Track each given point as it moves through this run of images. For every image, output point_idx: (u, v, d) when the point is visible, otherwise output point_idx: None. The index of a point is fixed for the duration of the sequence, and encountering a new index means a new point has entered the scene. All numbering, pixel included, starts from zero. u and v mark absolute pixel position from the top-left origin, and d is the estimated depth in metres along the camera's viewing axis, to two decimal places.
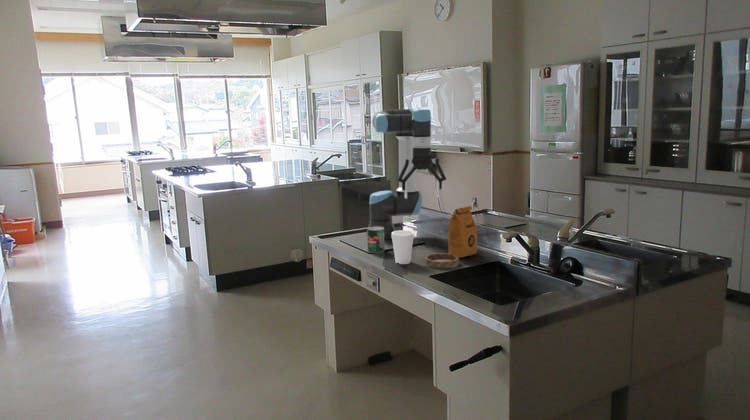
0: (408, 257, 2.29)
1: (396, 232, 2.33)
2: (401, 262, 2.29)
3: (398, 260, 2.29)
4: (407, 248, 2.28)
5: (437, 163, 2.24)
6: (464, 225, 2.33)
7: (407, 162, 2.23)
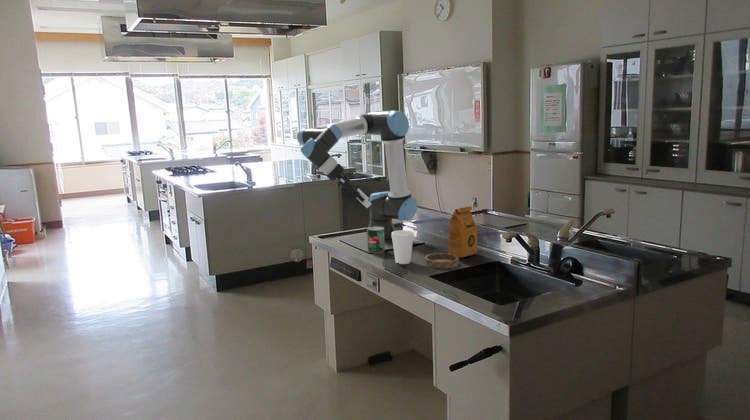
0: (408, 257, 2.29)
1: (396, 232, 2.33)
2: (401, 262, 2.29)
3: (398, 260, 2.29)
4: (407, 248, 2.28)
5: (342, 184, 2.21)
6: (464, 225, 2.33)
7: None
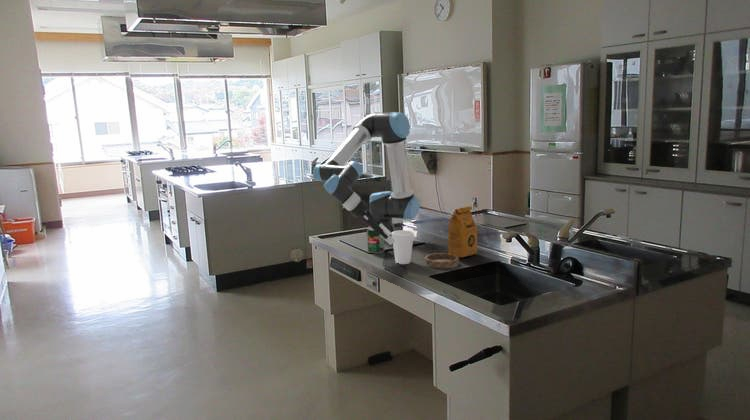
0: (408, 257, 2.29)
1: (396, 232, 2.33)
2: (401, 262, 2.29)
3: (398, 260, 2.29)
4: (407, 248, 2.28)
5: (365, 221, 2.20)
6: (464, 225, 2.33)
7: None
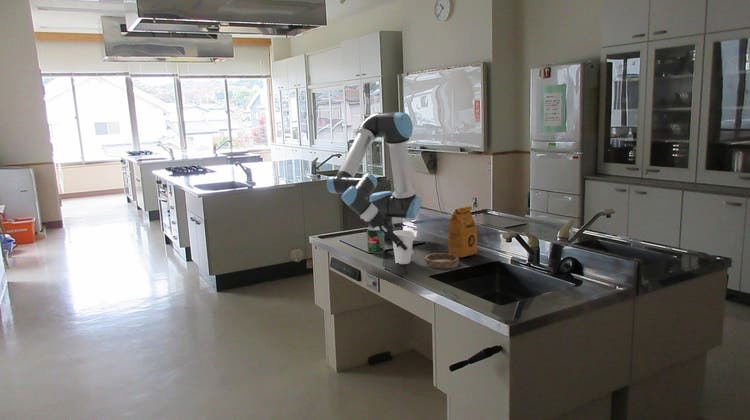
0: (408, 257, 2.29)
1: (396, 232, 2.33)
2: (401, 262, 2.29)
3: (398, 260, 2.29)
4: None
5: (384, 233, 2.23)
6: (464, 225, 2.33)
7: None
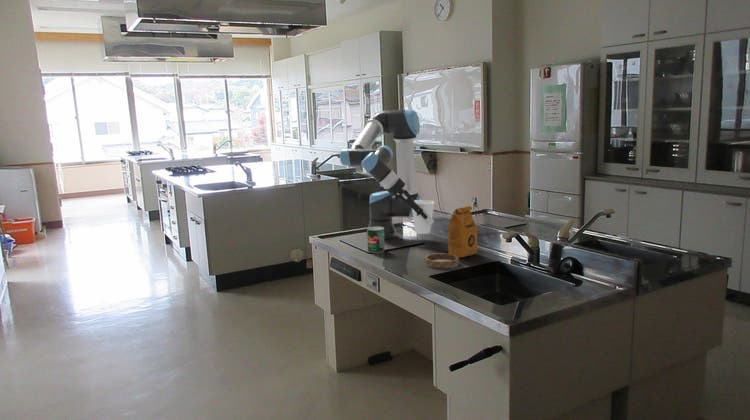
0: (428, 227, 2.23)
1: (416, 201, 2.27)
2: (421, 232, 2.23)
3: (418, 230, 2.23)
4: None
5: (404, 200, 2.17)
6: (464, 225, 2.33)
7: None
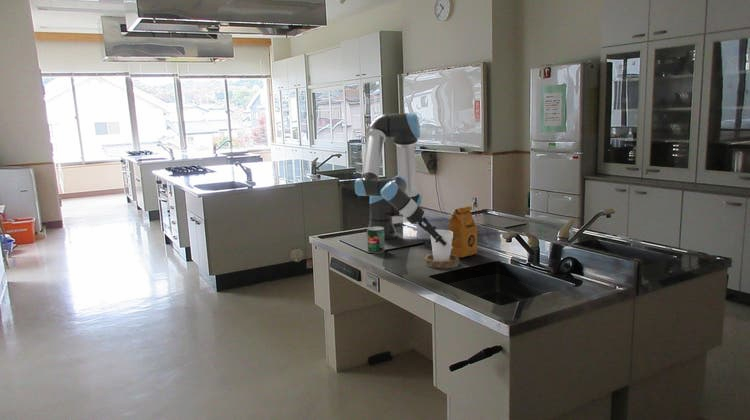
0: (447, 257, 2.25)
1: None
2: None
3: (437, 260, 2.26)
4: None
5: (423, 228, 2.18)
6: (464, 225, 2.33)
7: None
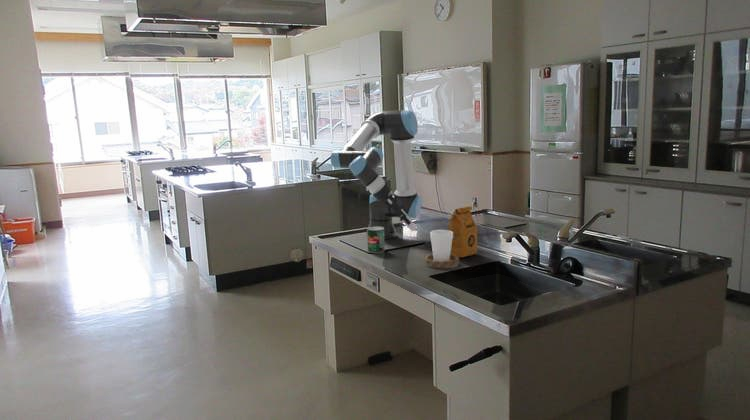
0: (447, 257, 2.25)
1: (434, 231, 2.29)
2: None
3: (437, 260, 2.25)
4: (447, 248, 2.24)
5: (389, 205, 2.17)
6: (464, 225, 2.33)
7: None
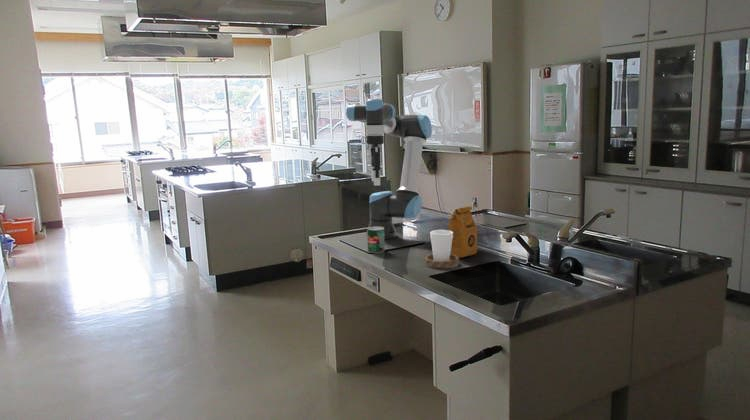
0: (447, 257, 2.25)
1: (434, 231, 2.29)
2: None
3: (437, 260, 2.26)
4: (447, 248, 2.24)
5: (373, 151, 2.30)
6: (464, 225, 2.33)
7: (371, 148, 2.42)
